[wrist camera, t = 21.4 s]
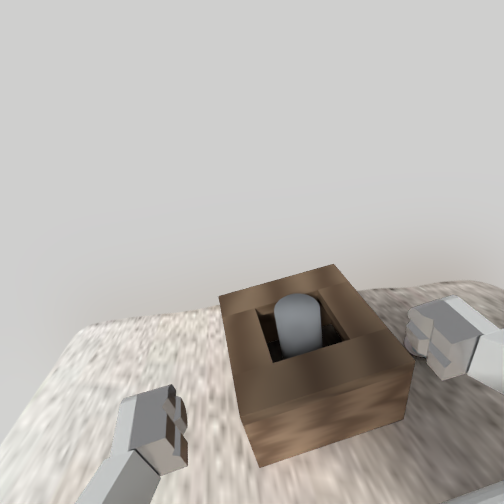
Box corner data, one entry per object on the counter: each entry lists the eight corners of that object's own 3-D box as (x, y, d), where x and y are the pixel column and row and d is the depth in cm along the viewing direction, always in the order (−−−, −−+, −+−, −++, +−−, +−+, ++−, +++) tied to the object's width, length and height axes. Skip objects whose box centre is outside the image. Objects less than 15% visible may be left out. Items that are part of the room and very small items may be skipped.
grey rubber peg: (315, 355, 39) (309, 288, 33) (331, 387, 35) (327, 318, 28) (281, 366, 39) (268, 300, 32) (293, 399, 34) (281, 332, 28)
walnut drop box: (335, 316, 44) (333, 263, 39) (403, 419, 31) (415, 360, 25) (234, 346, 43) (218, 296, 37) (259, 467, 29) (239, 416, 24)
